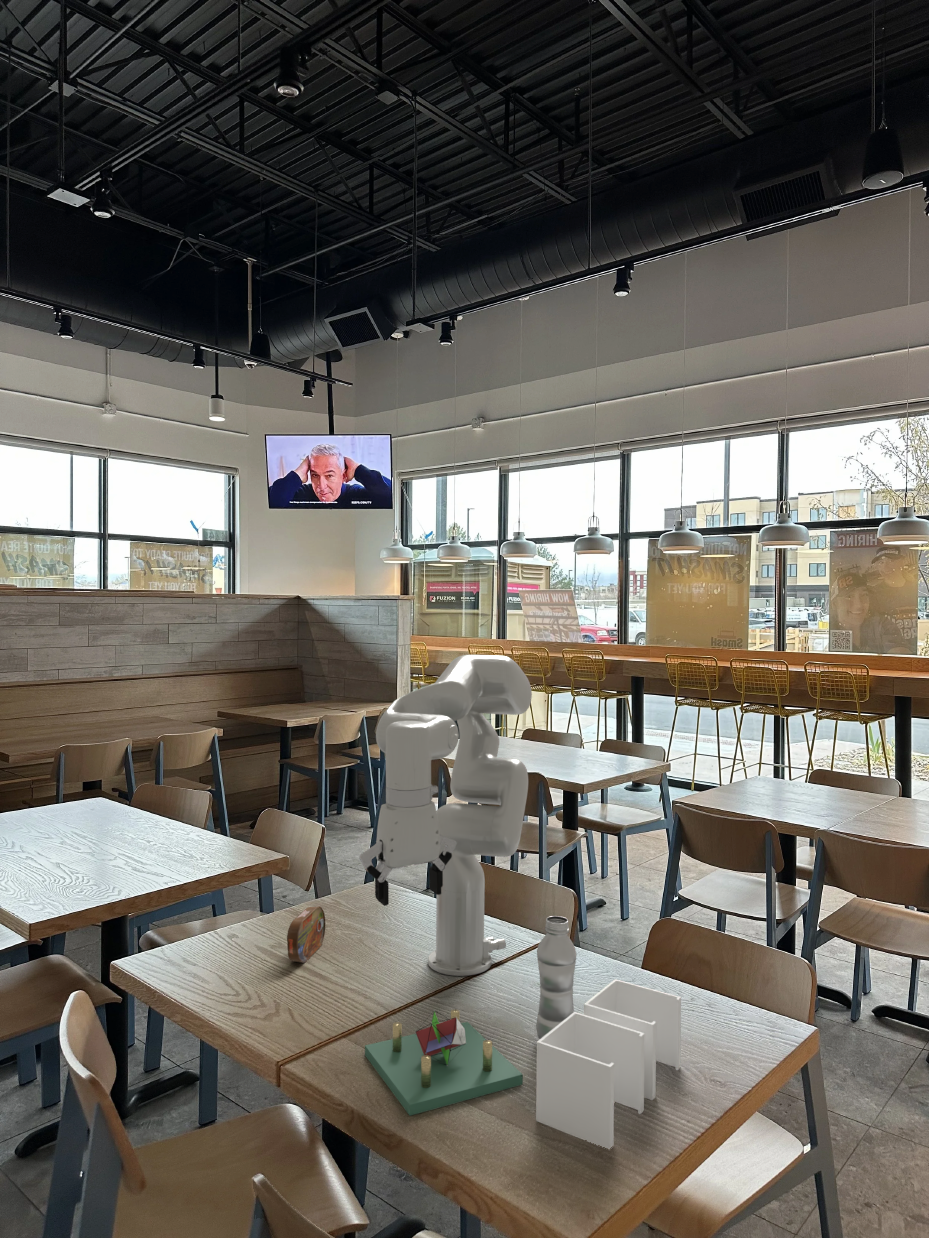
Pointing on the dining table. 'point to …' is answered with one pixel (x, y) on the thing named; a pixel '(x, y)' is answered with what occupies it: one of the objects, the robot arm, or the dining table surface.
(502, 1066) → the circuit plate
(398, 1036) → the brass standoffs
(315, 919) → the tin
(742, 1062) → the dining table surface
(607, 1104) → the white u-channel brackets
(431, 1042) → the geometric puzzle
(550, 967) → the plastic bottle
